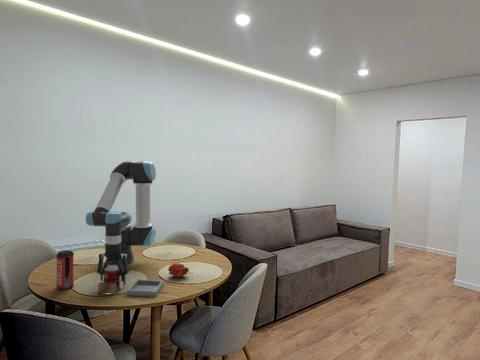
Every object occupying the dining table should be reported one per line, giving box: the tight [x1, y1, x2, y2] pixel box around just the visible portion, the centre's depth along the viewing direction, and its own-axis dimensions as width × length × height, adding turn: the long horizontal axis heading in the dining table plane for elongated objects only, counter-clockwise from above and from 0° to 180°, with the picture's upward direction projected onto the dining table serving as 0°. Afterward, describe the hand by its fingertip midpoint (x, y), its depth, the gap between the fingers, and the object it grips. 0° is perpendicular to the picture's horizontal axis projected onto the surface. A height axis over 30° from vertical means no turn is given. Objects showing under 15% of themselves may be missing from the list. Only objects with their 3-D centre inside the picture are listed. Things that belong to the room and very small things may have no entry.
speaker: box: [55, 250, 75, 291], centre depth 155 cm, size 8×8×18 cm
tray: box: [126, 279, 165, 298], centre depth 156 cm, size 14×14×2 cm
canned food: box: [104, 264, 121, 291], centre depth 156 cm, size 8×8×11 cm
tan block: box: [97, 274, 127, 295], centre depth 156 cm, size 8×14×5 cm, turn 178°
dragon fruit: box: [167, 262, 190, 279], centre depth 175 cm, size 8×8×12 cm
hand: (112, 287), depth 156 cm, fingers closed on canned food, 8 cm apart
